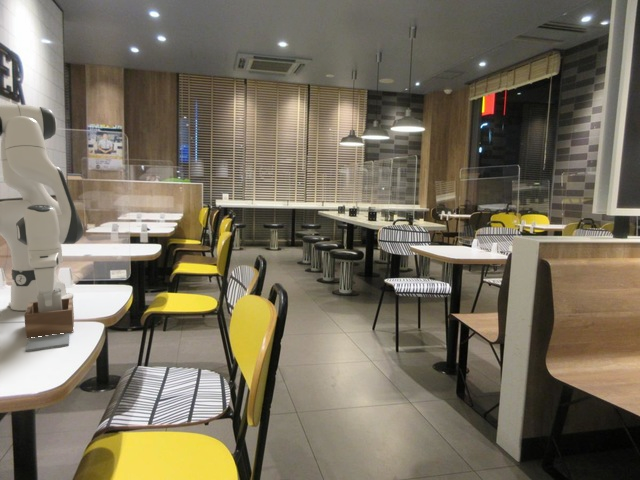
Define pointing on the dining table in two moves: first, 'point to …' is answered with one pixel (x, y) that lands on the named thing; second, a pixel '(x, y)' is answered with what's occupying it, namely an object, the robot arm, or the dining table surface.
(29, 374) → the dining table surface
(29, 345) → the mat
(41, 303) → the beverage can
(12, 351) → the dining table surface
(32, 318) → the box
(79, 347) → the dining table surface
